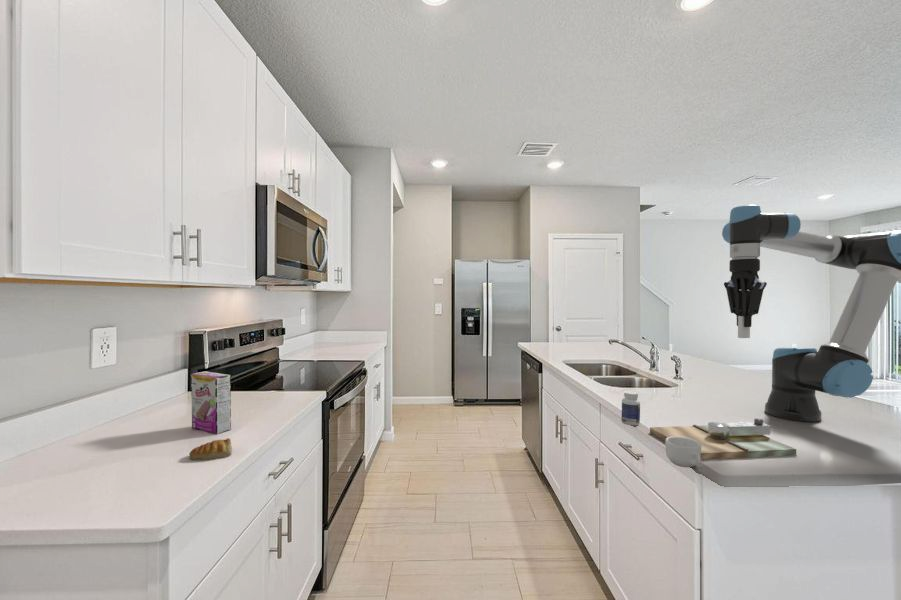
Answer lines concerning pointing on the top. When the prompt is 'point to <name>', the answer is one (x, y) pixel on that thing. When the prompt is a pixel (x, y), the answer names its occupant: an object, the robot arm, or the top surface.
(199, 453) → the pastry
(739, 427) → the latch arm
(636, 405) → the pill bottle
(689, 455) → the teacup
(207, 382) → the candy bar box
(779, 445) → the door board
